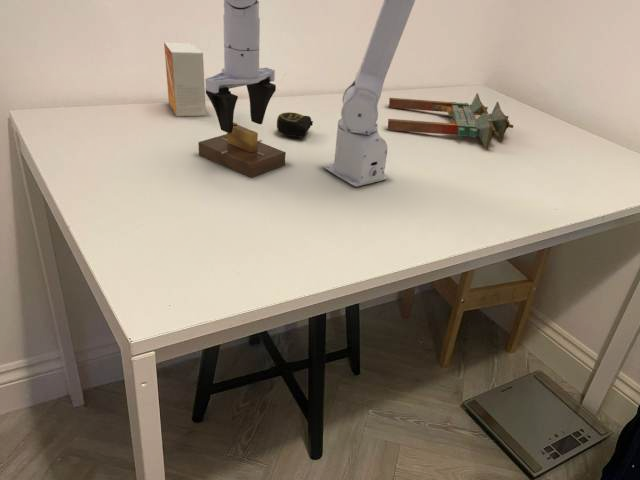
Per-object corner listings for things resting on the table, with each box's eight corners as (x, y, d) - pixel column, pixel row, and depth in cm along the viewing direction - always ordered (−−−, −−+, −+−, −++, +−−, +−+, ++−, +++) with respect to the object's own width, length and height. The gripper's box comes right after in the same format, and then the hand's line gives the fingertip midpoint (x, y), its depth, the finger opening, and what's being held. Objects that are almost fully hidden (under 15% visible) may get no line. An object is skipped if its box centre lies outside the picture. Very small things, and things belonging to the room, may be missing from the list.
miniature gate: (390, 86, 146) (504, 95, 147) (388, 108, 149) (500, 116, 150) (388, 118, 124) (522, 128, 124) (386, 142, 127) (517, 152, 127)
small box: (168, 104, 123) (163, 41, 116) (197, 104, 126) (194, 42, 119) (175, 116, 118) (171, 51, 110) (206, 116, 120) (203, 52, 113)
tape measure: (304, 142, 116) (305, 124, 114) (272, 136, 116) (272, 118, 114) (312, 132, 121) (313, 115, 119) (281, 126, 122) (282, 109, 119)
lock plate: (287, 164, 105) (287, 150, 104) (249, 178, 98) (249, 164, 96) (236, 143, 110) (236, 130, 109) (196, 155, 103) (195, 141, 101)
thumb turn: (257, 150, 102) (257, 131, 100) (251, 152, 101) (251, 133, 99) (233, 141, 104) (233, 121, 102) (227, 142, 103) (226, 123, 101)
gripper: (254, 37, 100) (253, 113, 107) (190, 44, 89) (194, 128, 96) (284, 46, 97) (281, 123, 105) (222, 55, 86) (224, 140, 94)
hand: (242, 126), depth 100 cm, fingers open, 7 cm apart
